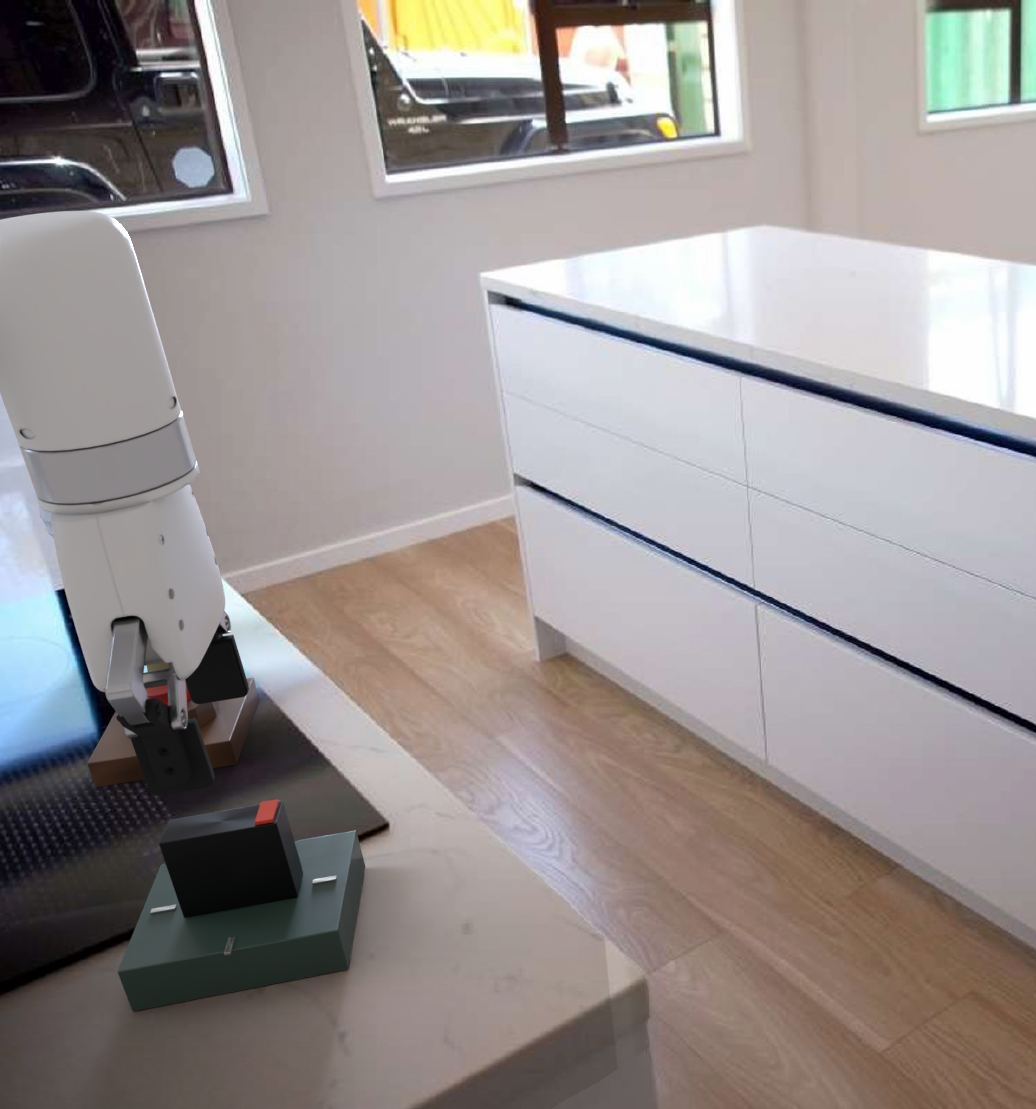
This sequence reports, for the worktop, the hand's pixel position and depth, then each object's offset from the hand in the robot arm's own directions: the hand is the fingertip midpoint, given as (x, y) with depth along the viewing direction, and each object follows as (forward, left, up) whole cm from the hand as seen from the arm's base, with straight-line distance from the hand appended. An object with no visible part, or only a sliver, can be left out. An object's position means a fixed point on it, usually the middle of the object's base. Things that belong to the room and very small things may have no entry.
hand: (204, 740), depth 72 cm
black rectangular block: (0, 0, -11) cm, 11 cm away
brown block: (-10, +26, -14) cm, 32 cm away
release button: (-10, +26, -11) cm, 30 cm away
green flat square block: (0, 0, -14) cm, 14 cm away
